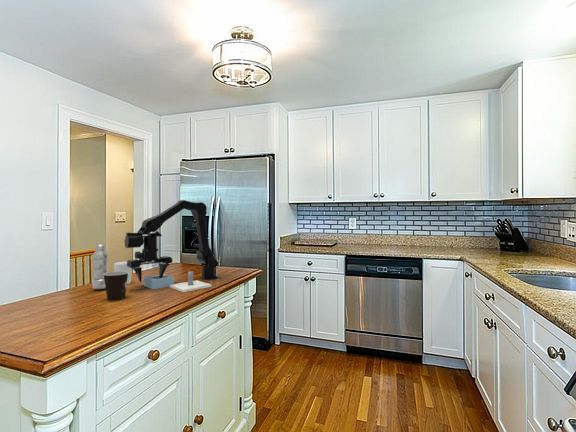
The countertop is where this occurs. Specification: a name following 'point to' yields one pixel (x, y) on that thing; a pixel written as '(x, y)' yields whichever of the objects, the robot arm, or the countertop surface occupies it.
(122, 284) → the coffee mug
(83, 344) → the countertop surface
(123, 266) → the white cup
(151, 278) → the loop frame
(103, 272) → the plastic bottle
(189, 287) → the white base with peg
